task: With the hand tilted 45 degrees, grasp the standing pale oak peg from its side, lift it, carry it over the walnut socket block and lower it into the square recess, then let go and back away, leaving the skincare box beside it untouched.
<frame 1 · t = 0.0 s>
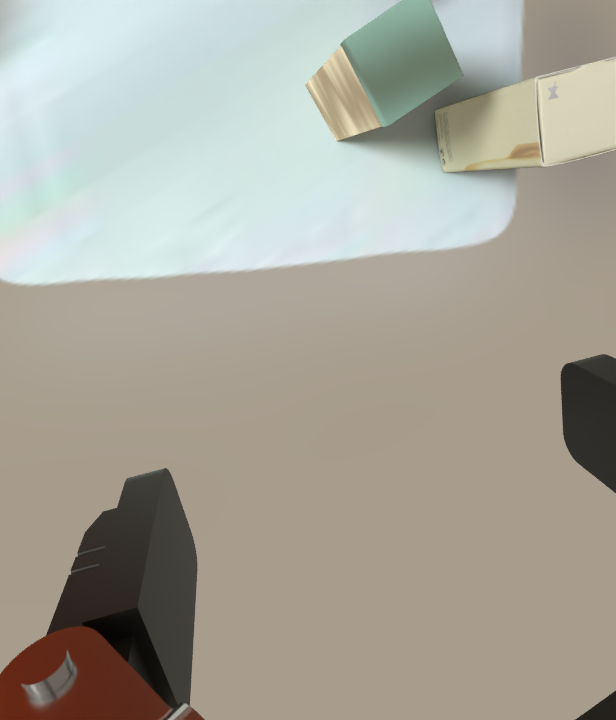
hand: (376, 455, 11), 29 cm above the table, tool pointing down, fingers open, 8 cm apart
peg: (346, 96, 36), on the table
skincare box: (478, 131, 38), on the table
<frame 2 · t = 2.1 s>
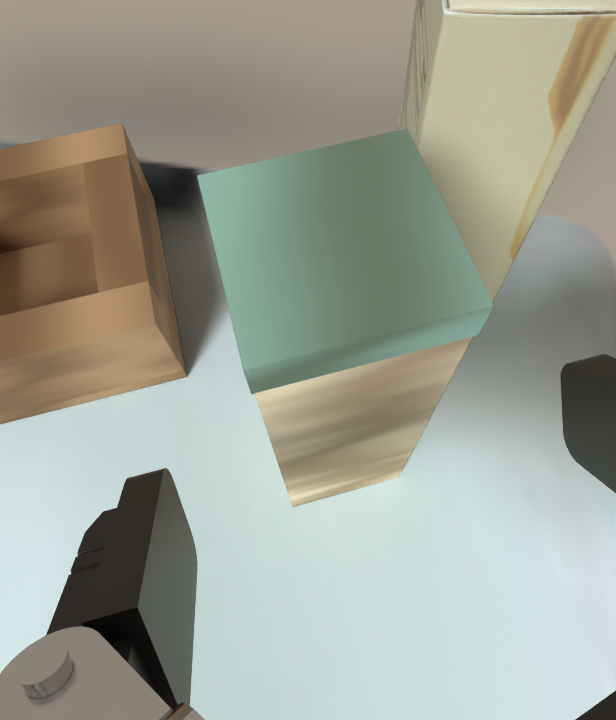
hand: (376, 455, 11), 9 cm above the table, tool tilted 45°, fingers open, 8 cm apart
socket block: (60, 306, 23), on the table
peg: (330, 440, 20), on the table
skincare box: (434, 253, 24), on the table
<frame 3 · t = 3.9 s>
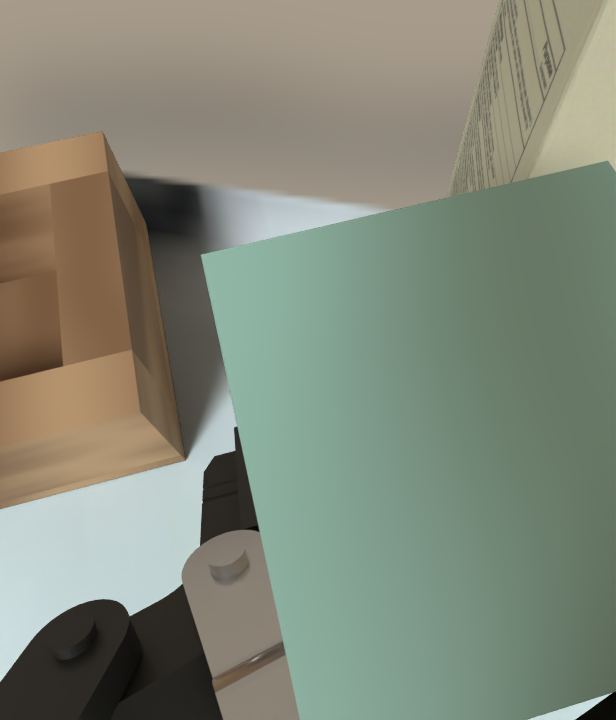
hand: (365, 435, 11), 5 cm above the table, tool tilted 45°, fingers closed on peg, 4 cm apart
socket block: (25, 363, 18), on the table
peg: (375, 552, 15), on the table, touching gripper
skincare box: (498, 294, 19), on the table
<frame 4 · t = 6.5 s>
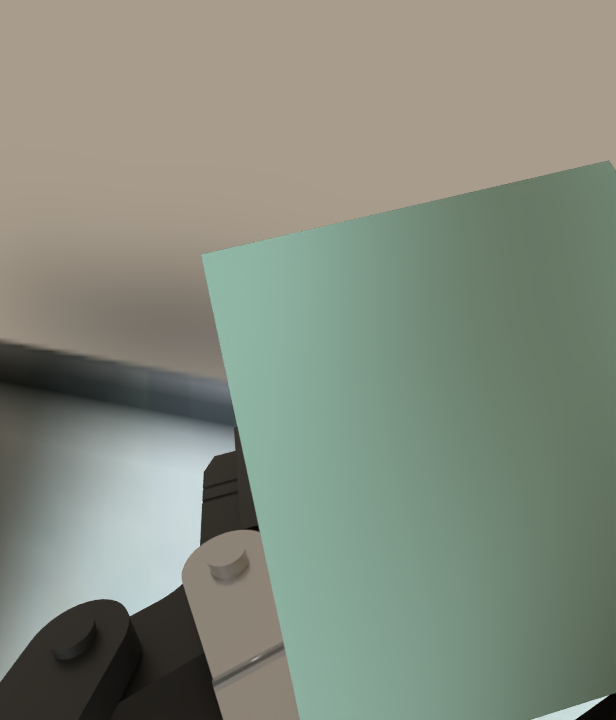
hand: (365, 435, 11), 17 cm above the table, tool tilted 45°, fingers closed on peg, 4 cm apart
peg: (375, 552, 15), point 12 cm above the table, touching gripper
when the fingers open (7 cm above the table, at t = 9.1 s): peg drops 1 cm, resting on socket block.
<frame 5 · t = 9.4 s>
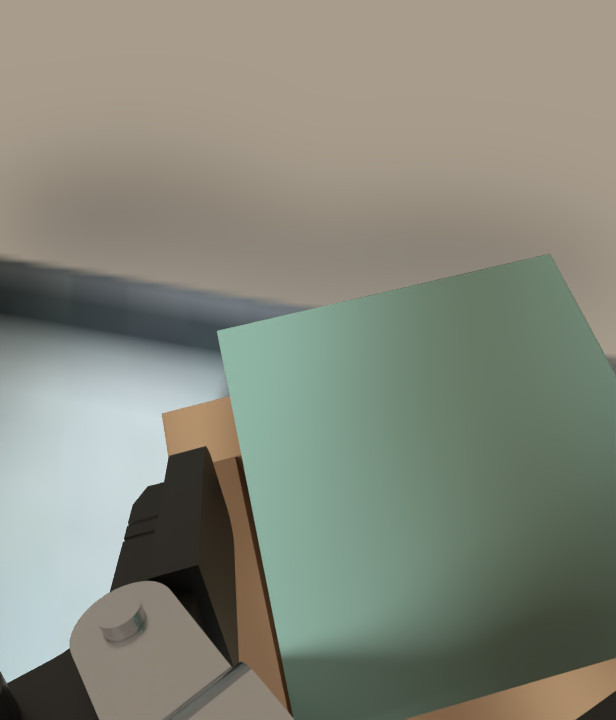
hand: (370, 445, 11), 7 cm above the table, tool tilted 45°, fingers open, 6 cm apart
socket block: (369, 559, 17), on the table
peg: (368, 559, 16), point 1 cm above the table, touching socket block
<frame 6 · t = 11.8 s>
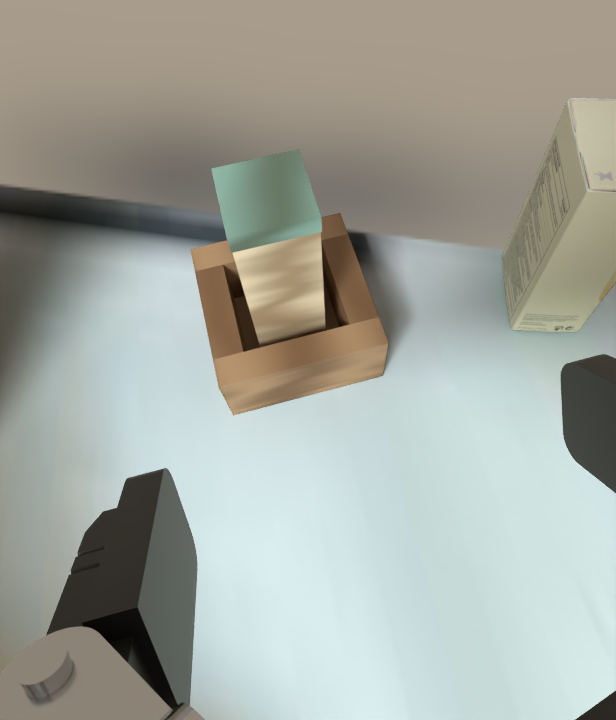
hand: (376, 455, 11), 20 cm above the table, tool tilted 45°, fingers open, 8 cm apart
socket block: (290, 330, 35), on the table
peg: (288, 326, 34), point 1 cm above the table, touching socket block
skincare box: (536, 292, 36), on the table
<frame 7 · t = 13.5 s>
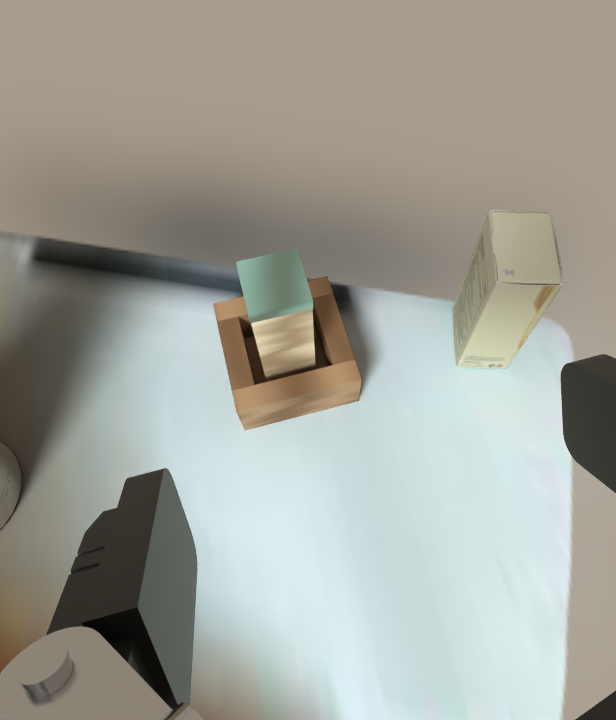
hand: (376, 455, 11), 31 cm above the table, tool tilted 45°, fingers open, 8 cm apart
socket block: (288, 363, 45), on the table
peg: (286, 361, 45), point 1 cm above the table, touching socket block
skincare box: (478, 335, 46), on the table
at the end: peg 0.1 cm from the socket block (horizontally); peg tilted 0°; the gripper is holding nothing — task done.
